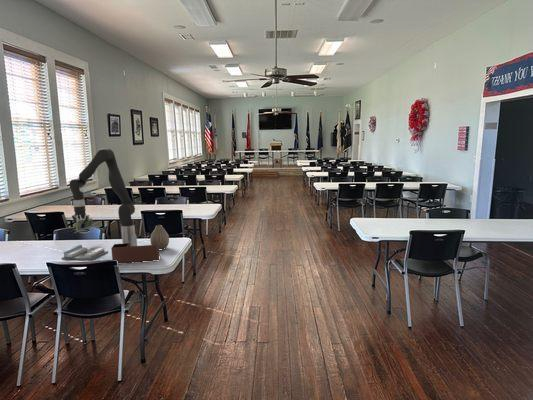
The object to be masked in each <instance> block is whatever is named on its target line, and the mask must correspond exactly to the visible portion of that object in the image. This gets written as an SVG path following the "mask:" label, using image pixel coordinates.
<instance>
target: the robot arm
mask: <svg viewBox="0 0 533 400" xmlns="http://www.w3.org/2000/svg"><path fill="white" fill-rule="evenodd" d="M95 153H96V154H94V156H93V158H92V159H91V160H90V162H89V163H88V164H87V165H86V166H85V167H84V168H83V169H82V170H81V171H80V173H79V174H78V175H79V176H78V178H72V179H71V180H70V181H69V188H70V191H71V193H72V199H73V201H72V203H73V211H74V214H73V215H71V218H72V219H73V222H74V223H77V222H80V221H82V228H85V227H86V225H85V223H86V222H88V219H89V218H90V215H89V214H87V213H86V203H85V197H84V196H85V195H84V192H83V191H81V190H80V189H81V188H83V187H84V186H85V185H86V183H87V182H88V181H89V179H91V177H92V176H94V174H95V172H96V170H97V169H98V167H99V166H100V165H102V164H103V163H104V162H105V163H106V166H107V168H108V182H109V185H110V187H111V189H112V191H113V192H114V194H116V196H118V198H119V200H120V202H121V205H120V206H119V207H118V219H119V223H120V230H121V231H120V232H121V241H122V243H121V244H123V243H130V246H138V239H137V234H136V229H135V220H133V218H132V215H134V213H135V211H136V208H135V204H134V203H133V201H132V198H131V197H130V194H129V191H128V190H127V187H126V184H125V182H124V179H123V176H122V174H121V172H120V169H119V166H118V163H117V159H116V155H115V152H114V150H112V149H110V148H100V149H99V150H98V151H97V152H95Z"/></svg>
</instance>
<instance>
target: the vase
mask: <svg viewBox="0 0 533 400" xmlns="http://www.w3.org/2000/svg"><path fill="white" fill-rule="evenodd" d="M149 238H150V239H149V242H150V245H158V248H159V249H164V248H165V249H167V247H168V246H169V243H170V236H169V234H168V232H167V231H166V230H165V228H164V227H163V225H161V224H157V225H155V228H154V230H153V231H152V232H151V235H150V237H149ZM165 249H164V250H165Z"/></svg>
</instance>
